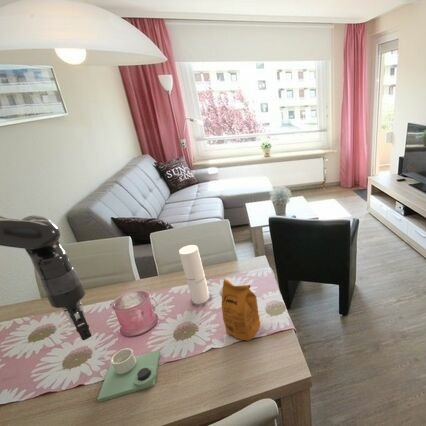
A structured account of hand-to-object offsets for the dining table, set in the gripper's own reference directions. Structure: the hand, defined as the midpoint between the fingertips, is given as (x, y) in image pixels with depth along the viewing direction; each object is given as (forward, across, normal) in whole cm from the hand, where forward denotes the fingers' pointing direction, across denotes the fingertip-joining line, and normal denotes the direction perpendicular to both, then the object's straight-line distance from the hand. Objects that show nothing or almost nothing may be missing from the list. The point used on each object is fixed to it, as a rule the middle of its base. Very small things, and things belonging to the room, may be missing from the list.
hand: (83, 330), depth 86 cm
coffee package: (+20, +18, +41) cm, 49 cm away
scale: (+20, +6, +6) cm, 22 cm away
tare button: (+18, +12, +8) cm, 23 cm away
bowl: (+19, +2, +6) cm, 20 cm away
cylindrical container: (+20, -12, +39) cm, 46 cm away
